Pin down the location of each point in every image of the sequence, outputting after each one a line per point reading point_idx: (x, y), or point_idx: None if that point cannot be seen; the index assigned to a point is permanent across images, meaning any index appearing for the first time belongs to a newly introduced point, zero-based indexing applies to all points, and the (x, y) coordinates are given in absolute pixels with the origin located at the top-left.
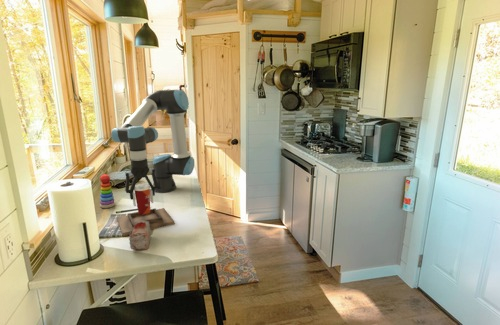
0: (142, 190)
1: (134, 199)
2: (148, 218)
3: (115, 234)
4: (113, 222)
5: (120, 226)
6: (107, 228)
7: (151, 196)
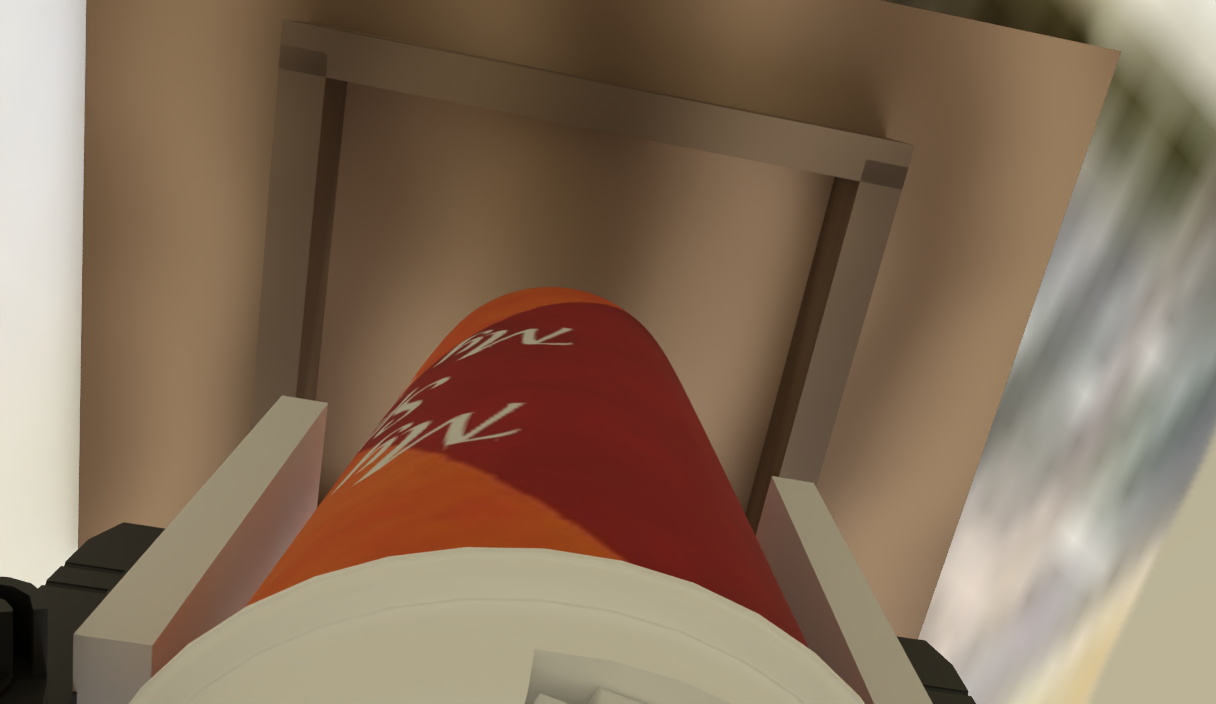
0: (641, 577)
1: (846, 588)
2: None
3: (1134, 208)
4: (944, 656)
5: (1008, 355)
6: (1107, 510)
7: (253, 494)
